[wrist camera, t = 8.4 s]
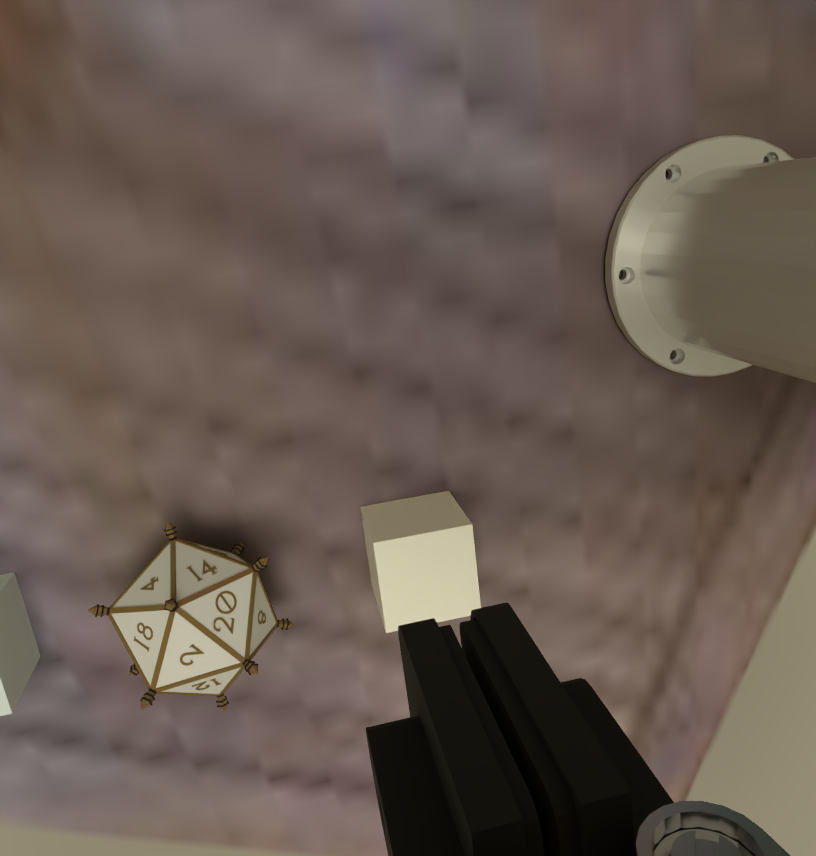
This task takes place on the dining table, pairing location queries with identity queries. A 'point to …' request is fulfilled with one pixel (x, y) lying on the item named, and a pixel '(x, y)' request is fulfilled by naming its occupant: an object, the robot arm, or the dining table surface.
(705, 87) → the dining table surface
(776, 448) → the dining table surface
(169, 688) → the game die
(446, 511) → the off-white block
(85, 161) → the dining table surface
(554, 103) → the dining table surface
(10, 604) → the grey-green block
